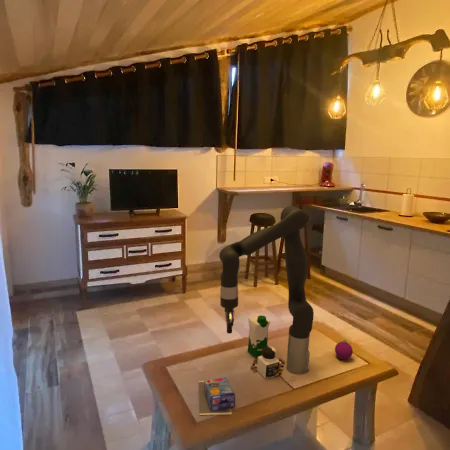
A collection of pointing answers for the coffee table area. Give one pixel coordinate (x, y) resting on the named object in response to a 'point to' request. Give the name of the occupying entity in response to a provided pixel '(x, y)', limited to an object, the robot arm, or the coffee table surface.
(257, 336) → the milk carton
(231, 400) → the ink cartridge box
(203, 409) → the mat
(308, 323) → the robot arm
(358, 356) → the coffee table surface
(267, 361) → the medicine bottle
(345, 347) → the christmas ornament
